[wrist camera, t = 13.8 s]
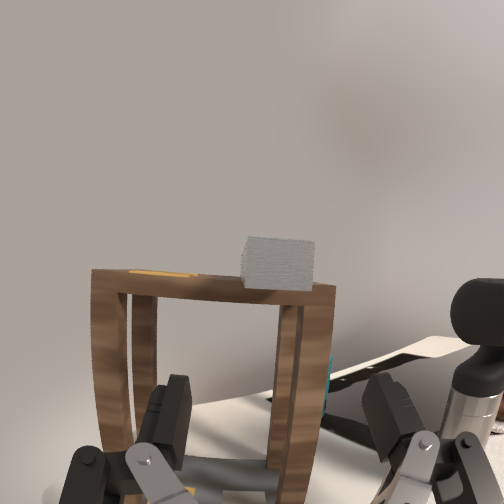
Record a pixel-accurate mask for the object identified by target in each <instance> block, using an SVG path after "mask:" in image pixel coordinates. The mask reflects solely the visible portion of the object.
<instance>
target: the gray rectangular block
mask: <svg viewBox="0 0 504 504" xmlns="http://www.w3.org/2000/svg"><path fill="white" fill-rule="evenodd" d="M314 242H315V241H305V240H291V239H277V238H261V237H248V238H247V241H246V244H245V247H244V250H243V254H242V262H241V280H242V282H243V285H244V288H253V289H271V290H292V291H312V282H313V264H314Z"/></svg>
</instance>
